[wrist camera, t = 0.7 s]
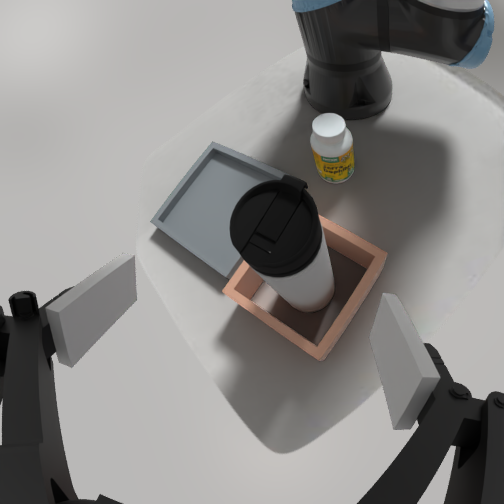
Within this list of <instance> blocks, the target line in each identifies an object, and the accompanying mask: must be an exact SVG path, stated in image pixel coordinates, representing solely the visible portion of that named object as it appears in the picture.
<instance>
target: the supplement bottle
mask: <svg viewBox="0 0 504 504" xmlns="http://www.w3.org/2000/svg"><path fill="white" fill-rule="evenodd" d="M312 129H313V132H312V134H311V138H310V143H311V147H312V151H313V155H314V159H315V163H316V167H317V171H318V174H319V175H320V177H321V178H322V179H324V180H325V181H327V182H330V183H342V182H344V181H346V180H348V179H349V178H350V177H351V175H352V174H353V172H354V168H355V167H354V165H355V164H354V151H353V139H352V135H351V132H350V131H349V130H348V128H346V124H345V121H344V119H343V118H342V117H341V116H339V115H337V114H334V113H324V114H321V115H319V116H318V117H316V118H315V119H314V121H313V123H312Z"/></svg>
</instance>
